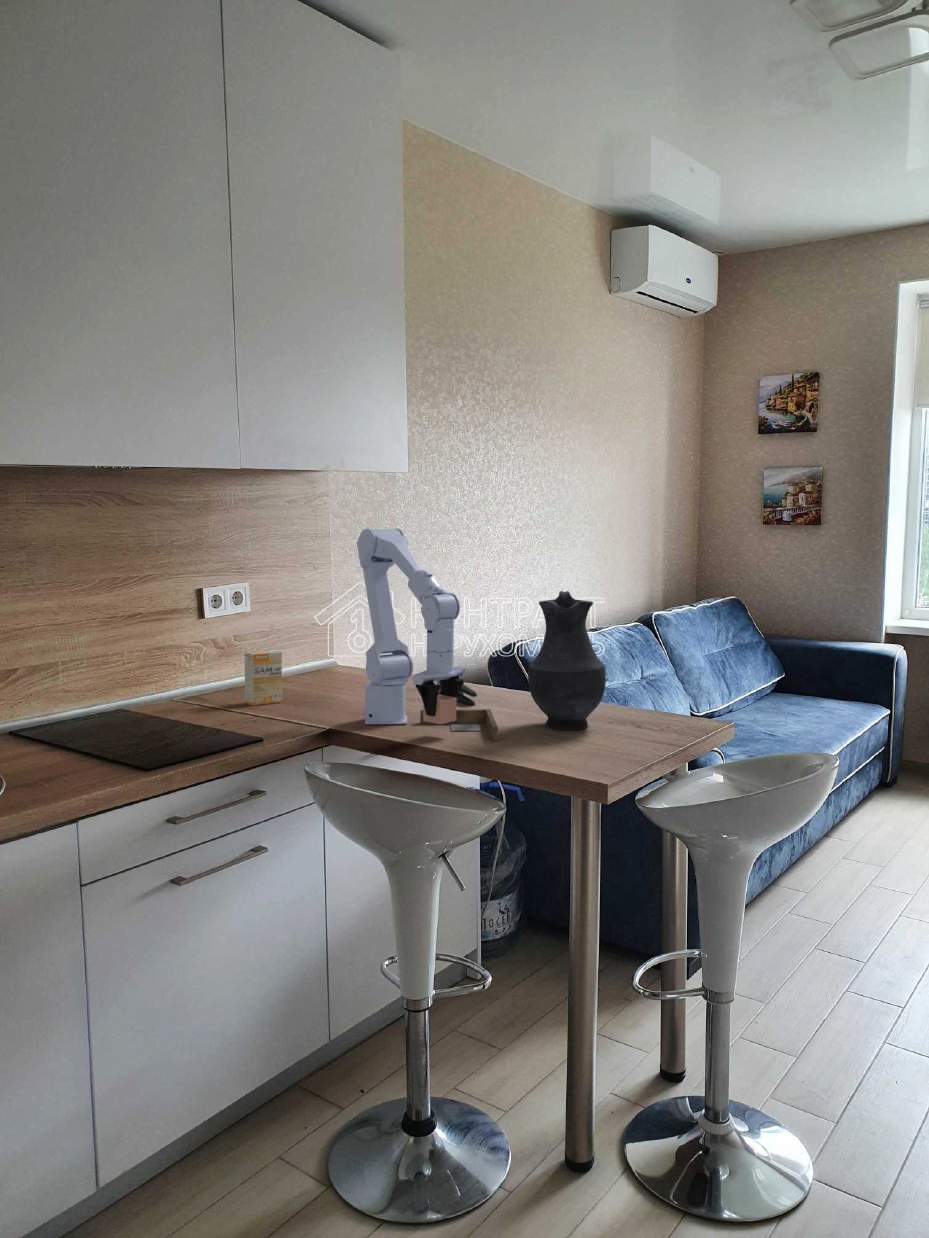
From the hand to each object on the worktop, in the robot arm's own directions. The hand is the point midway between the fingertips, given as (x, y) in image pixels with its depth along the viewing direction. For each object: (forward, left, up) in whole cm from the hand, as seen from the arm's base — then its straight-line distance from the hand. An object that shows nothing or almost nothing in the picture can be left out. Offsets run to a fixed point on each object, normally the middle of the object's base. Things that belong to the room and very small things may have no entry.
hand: (439, 713), depth 198 cm
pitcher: (+29, +11, -5) cm, 31 cm away
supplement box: (-43, +37, -5) cm, 57 cm away
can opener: (+6, +40, -5) cm, 41 cm away
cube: (0, 0, -2) cm, 2 cm away
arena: (+4, +4, -5) cm, 7 cm away
